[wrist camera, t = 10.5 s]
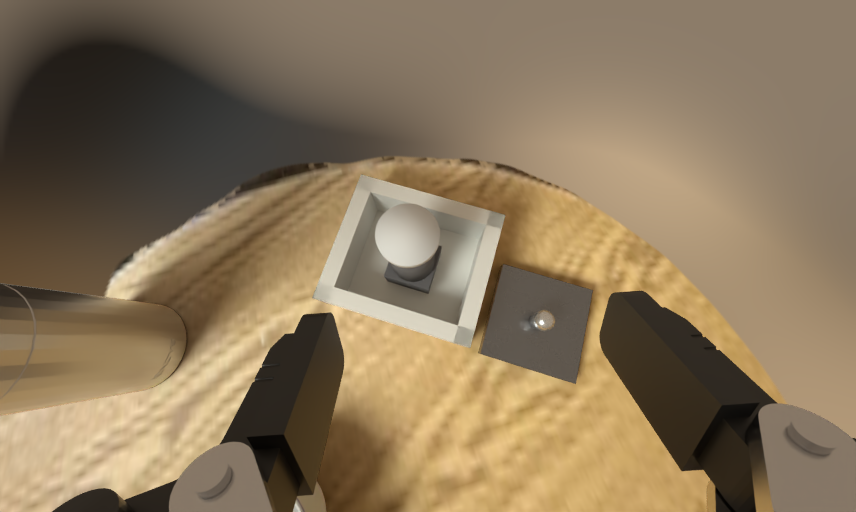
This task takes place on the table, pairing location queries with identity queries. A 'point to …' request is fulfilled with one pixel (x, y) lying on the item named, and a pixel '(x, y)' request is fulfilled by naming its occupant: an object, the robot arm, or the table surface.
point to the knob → (409, 245)
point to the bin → (454, 277)
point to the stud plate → (527, 340)
